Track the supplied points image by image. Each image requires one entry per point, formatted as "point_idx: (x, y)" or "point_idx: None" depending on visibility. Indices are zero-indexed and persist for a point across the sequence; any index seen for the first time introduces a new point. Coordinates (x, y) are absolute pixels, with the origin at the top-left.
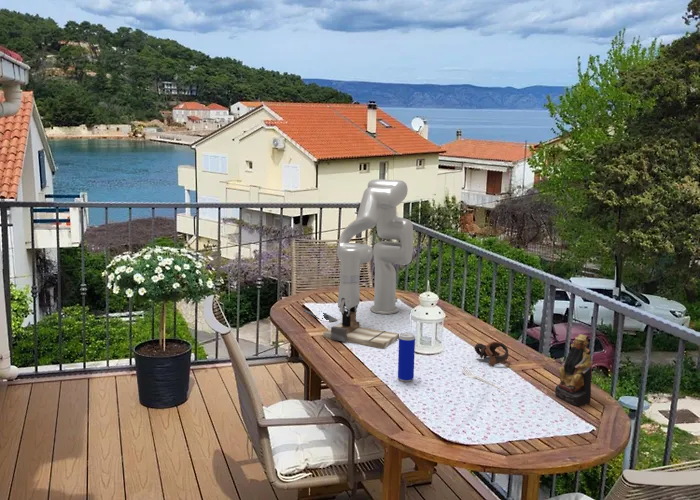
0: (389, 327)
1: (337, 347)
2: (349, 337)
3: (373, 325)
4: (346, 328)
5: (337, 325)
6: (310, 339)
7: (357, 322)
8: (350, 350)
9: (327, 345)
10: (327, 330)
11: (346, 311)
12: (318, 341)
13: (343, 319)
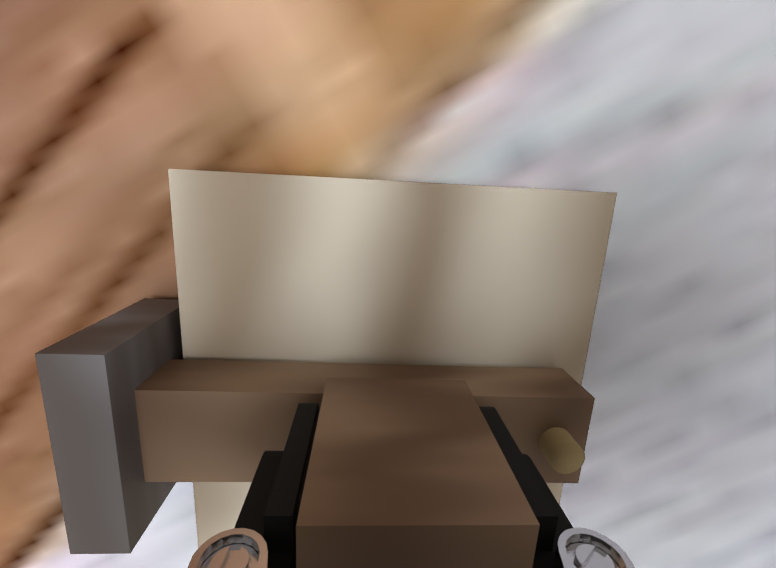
0: (745, 549)
1: (22, 434)
2: (194, 492)
3: (766, 426)
4: (245, 474)
5: (516, 193)
6: (38, 68)
7: (544, 473)
8: (35, 550)
9: (3, 333)
10: (264, 178)
11: (487, 530)
12: (43, 191)
13: (247, 499)
